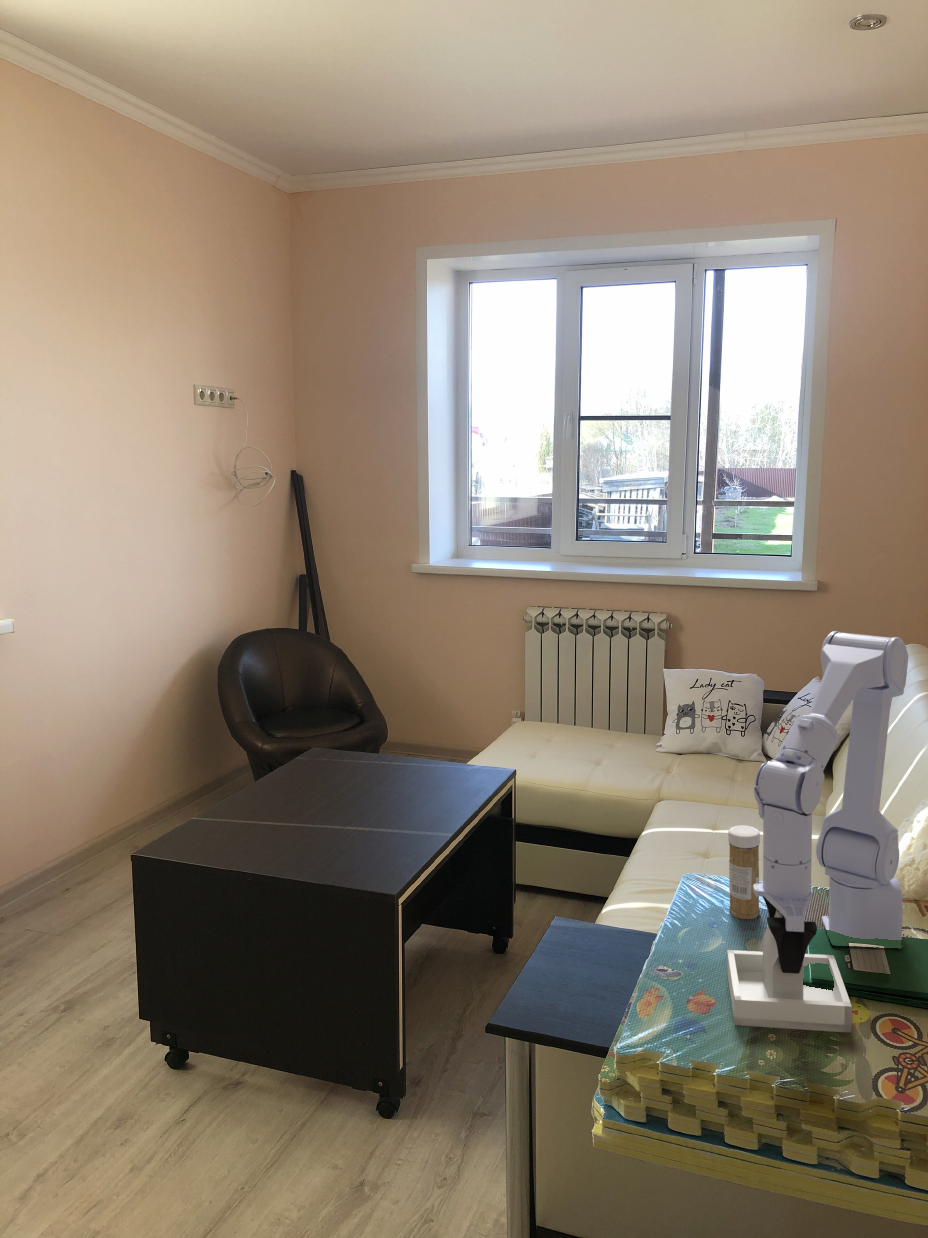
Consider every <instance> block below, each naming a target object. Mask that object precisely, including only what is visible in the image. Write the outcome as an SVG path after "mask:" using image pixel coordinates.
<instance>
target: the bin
mask: <svg viewBox="0 0 928 1238" xmlns="http://www.w3.org/2000/svg"><path fill="white" fill-rule="evenodd" d="M726 956H727V957H726V959H727V961H726V965H727V966H726V969H727V970H726V971H727V973H726V974H727V980H728V987H729V988H728V989H729V994H730V1001H731V1008H732V1015H733V1021H734V1022H733V1023H734V1026H740V1027H743V1026H744V1027H759V1028H771V1029H772V1028H774V1029H791V1030H803V1031H804V1030H805V1031H818V1032H819V1031H821V1032H835V1033H847V1034H848V1033H849V1034H852V1021H853V1020H852V1018H853V1017H852V1015H853V1013H852V1012H853V1006H852V1003H851V1000H850V997H849V995H848V992H847V989H846V986H845V983H844V981H843V977H842V975H841V972H840V969H839V967H838V964H837V961H836V958H835V955H832V954H819V953H818V954H817V953H816V954H814V953H813V954H812V953H805V956H804V960H803V966H807V965H808V964H810V963H811V964H815V963H821V964H822V963H823V964H828V965H829V968H830V971H831V974H832V976H833V980H834V988H833V991H832V990H828V989H827V990H826V989H821V988H815V987H809V986H806V985H803V1000H797V999H780V998H769V997H768V994H767V991H766V988H765V985H764V982H763V951H756V950H755V951H753V950H735V949H727V951H726Z"/></svg>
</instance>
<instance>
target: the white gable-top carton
mask: <svg viewBox="0 0 928 1238" xmlns="http://www.w3.org/2000/svg"><path fill="white" fill-rule="evenodd" d="M774 917H781V918H783V917H782V915H781V913H780V912H778V910H776V913H775V916H774ZM762 952H763V982H764V985H765V988H766V991H767V994H768V997H769V998H780V999H797V1000H803V978H804V966H803V964H802V967H801V970H800V973H799V974H795V973H783V972H782V970H781V967H780V963H779V957H778V951H777V945H776V941H775V938H774V936H773V935H772V933H771V931H770V929H769V927H767V930H766V932H765V933H764V935H763V937H762Z"/></svg>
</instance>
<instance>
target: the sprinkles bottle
mask: <svg viewBox="0 0 928 1238" xmlns="http://www.w3.org/2000/svg"><path fill="white" fill-rule="evenodd" d="M727 833H728V836H727V838H728V839H727V840H728V844H729V860H728V865H729V867H728V870H729V872H728V874H729V877H728V880H729V882H728V883H729V909H728V910H729V913H730V914H731V916H733V917H735V918H737V919H742V920H751V919H755V918H757V917H758V916H759V915H760V914H761V913H760V912H761V911H760V896H757V895H755V894H754V891H753V885H754V884H760V868H759V866H760V865H759V859H760V857H759V847H760V843H761V833H760V830H759V829H758V828H756V827H754V826H750V825H743V824H742V825H740V824H739V825H735V826H732V827H729V829H728V832H727Z"/></svg>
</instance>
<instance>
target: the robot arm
mask: <svg viewBox="0 0 928 1238" xmlns="http://www.w3.org/2000/svg"><path fill="white" fill-rule="evenodd" d="M907 649H908V648H907V646H906V644H905V642H904V640H903V639H902V638H901V637H899V636H894V637H890V636H889V637H888V636H880V635H870V634H860V633H850V632H849V633H848V632H841V631H839V630H833V631H831V632H829V634H827V636H826V637H825V638H824V640H823V642H822V646H821V651H820V662H821V673H822V675H823V676H822V677H821V680H820V684H819V686H818V689H817V690H816V693H815V696H814V699H813V700H812V704H811V706H810V709H809V710H808V713H807V714H804V715H800V716H798V717H797V718H796V719H795V720H794V721H793V723H792V725H791V727H790V729H789V730H788V732H787V735H786V737H785V738H784V740H783V742H782V744H781V745H780V748H779V750H778V752H777V753H776V755H775V757H774V758H773V759H770V761H769V760H768V761H767V762H764V763H762V764H761V765H760V767H759V769H758V771H757V773H756V776H755V782H754V786H753V795H754V796H753V797H754V799H755V801H756V803H757V807H758V816H759V818H761V819H762V821H763V822H762V826H763V827H762V829H763V830H762V833H763V834H762V835H763V836H762V866H763V867H762V882H761V883H759V884H754V885H753V891H754V894H755V895H757V896H759V897H762V899H763V901H764V904H765V906H766V908H767V912H768V913H767V914H768V916H767V917H766V922H767V926H768V928H769V929H770V931H771V933H772V935H773V936H774V938H775V941H776V945H777V951H778V957H779V963H780V967H781V970H782V972H783V973H795V974H799V973H800V970H801V967H802V964H803V960H804V956H805V954H806V952H807V949H808V946H809V945H810V943H811V941H812V940H813V938H814V937H815V936H816V935H817V931H818V926H817V923H816V921H805V914H806V912H807V910H808V908H809V907H810V905H811V904H810V903H812V902H811V901H812V899H813V897H814V896H813V894H814V893H813V892H814V890H813V889H812V852H813V851H812V850H813V849H812V844H813V843H812V841H813V837H812V836H813V835H812V834H813V832H812V831H813V813H814V811H815V810H816V808H817V806H818V805H819V803H820V800H821V794H822V790H823V784H824V782H825V773H824V770H825V768H826V766H827V764H828V762H829V760H830V758H831V756H832V754H833V752H834V750H835V748H836V746H837V745H838V742H839V733H838V730H837V729H836V726H837V725H838V723H839V721H840V720H841V719H842V717H843V716H844V714H845V712H846V711H847V710H848V708H849V706H850V704H851V703H852V710H851V717H850V718H851V720H850V728H849V737H848V747H847V756H846V763H845V765H846V766H845V775H844V784H843V793H842V794H843V795H842V803H841V808H840V807H839V808H838V809H836V810H834V811H832V812H830V813H828V814H826V816H825V817H824V818H823V820H822V825H821V828H820V829H821V830H820V833H819V835H818V838H817V842H816V846H815V847H816V848H815V853H816V854H815V855H816V858H817V861H818V863H819V865H820V866H821V867H822V868H824V875H825V876H829V892H828V893H829V895H828V897H829V898H828V906H829V907H828V915H823V916H821V920H822V924H823V927H824V929H826V930H831V931H834V932H837V933H840V934H843V935H845V936H849V937H853V938H860V939H875V938H878V939H888V940H902V937H903V935H902V933H903V909H904V908H903V905H904V904H903V893H902V887H901V884H900V881H899V879H898V878H897V877H895V876H896V874H897V871H898V867H899V864H900V849H899V831H898V829H897V828H896V826H895V825H894V824H892V823H891V822H890V820H888V819H887V818H886V817H885V816H884V814H882V812H881V811H880V807H881V806H880V805H881V797H882V796H881V795H882V789H883V788H882V787H883V779H884V769H885V759H886V752H887V751H886V750H887V743H888V742H887V741H888V731H889V723H890V712H891V707H892V701H893V698H896V697H900V696H903V695H904V692H905V688H906V684H907V674H908V665H909V653H908V650H907ZM776 910H778V912H780V913H781V915H782V917H783V918H781V917H774V916H775V913H776ZM826 930H825V931H826ZM902 941H903V940H902Z"/></svg>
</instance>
